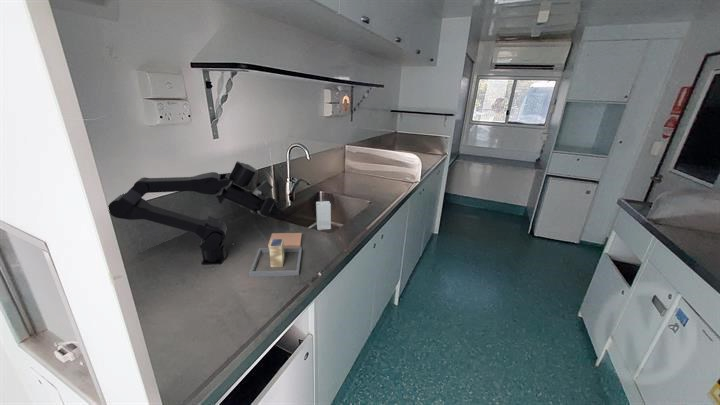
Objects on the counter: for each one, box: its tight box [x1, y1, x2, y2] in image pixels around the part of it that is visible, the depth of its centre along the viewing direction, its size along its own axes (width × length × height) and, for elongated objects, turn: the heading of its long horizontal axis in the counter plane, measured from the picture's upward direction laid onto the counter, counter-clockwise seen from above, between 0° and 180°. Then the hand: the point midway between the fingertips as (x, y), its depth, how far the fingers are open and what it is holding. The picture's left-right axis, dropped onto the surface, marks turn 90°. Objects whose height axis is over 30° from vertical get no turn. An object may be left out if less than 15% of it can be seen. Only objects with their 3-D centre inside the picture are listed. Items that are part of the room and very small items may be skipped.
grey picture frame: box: [248, 246, 303, 278], centre depth 101 cm, size 16×16×2 cm
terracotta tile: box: [267, 232, 303, 248], centre depth 115 cm, size 12×10×1 cm
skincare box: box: [315, 200, 332, 231], centre depth 126 cm, size 6×4×12 cm
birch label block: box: [269, 239, 285, 268], centre depth 99 cm, size 4×5×8 cm
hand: (283, 216), depth 103 cm, fingers open, 9 cm apart
